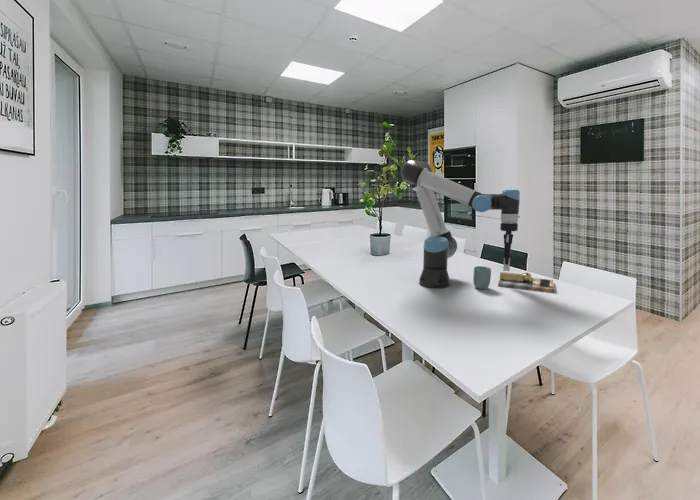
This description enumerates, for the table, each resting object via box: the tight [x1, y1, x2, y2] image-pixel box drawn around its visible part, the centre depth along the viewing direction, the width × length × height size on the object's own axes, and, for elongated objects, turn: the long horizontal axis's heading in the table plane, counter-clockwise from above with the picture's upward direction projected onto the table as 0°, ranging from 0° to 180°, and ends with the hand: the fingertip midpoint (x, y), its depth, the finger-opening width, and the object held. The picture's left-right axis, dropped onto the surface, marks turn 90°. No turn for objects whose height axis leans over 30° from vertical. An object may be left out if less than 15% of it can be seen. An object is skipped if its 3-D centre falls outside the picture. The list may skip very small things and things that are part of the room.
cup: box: [473, 265, 492, 290], centre depth 168 cm, size 8×8×10 cm
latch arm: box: [499, 271, 532, 282], centre depth 174 cm, size 14×4×4 cm, turn 62°
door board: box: [497, 276, 556, 294], centre depth 173 cm, size 24×18×5 cm
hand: (506, 270), depth 170 cm, fingers closed
